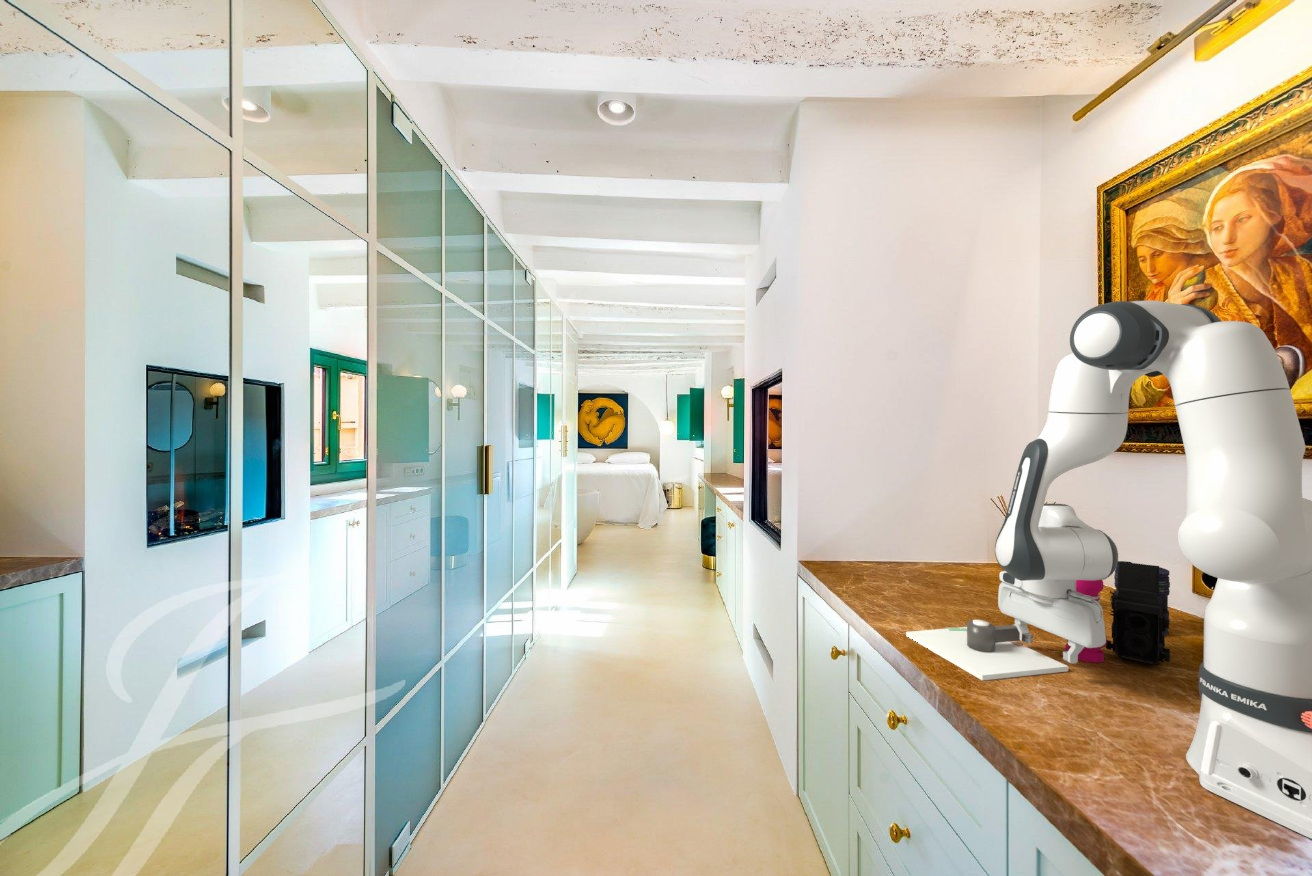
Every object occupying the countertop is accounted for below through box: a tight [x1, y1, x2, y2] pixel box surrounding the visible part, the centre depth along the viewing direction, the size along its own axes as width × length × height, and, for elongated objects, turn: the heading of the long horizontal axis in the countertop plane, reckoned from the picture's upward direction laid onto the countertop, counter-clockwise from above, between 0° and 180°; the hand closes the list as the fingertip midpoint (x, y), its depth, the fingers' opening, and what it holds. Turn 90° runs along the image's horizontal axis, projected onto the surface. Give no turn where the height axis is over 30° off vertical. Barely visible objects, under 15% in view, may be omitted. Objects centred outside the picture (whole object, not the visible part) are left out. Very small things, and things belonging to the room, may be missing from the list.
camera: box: [1105, 560, 1171, 666], centre depth 108 cm, size 10×14×20 cm
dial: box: [966, 619, 1021, 652], centre depth 112 cm, size 13×5×5 cm, turn 101°
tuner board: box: [905, 626, 1069, 681], centre depth 112 cm, size 22×20×1 cm
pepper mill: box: [1065, 580, 1108, 664], centre depth 110 cm, size 7×7×20 cm
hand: (1047, 651), depth 104 cm, fingers open, 8 cm apart
